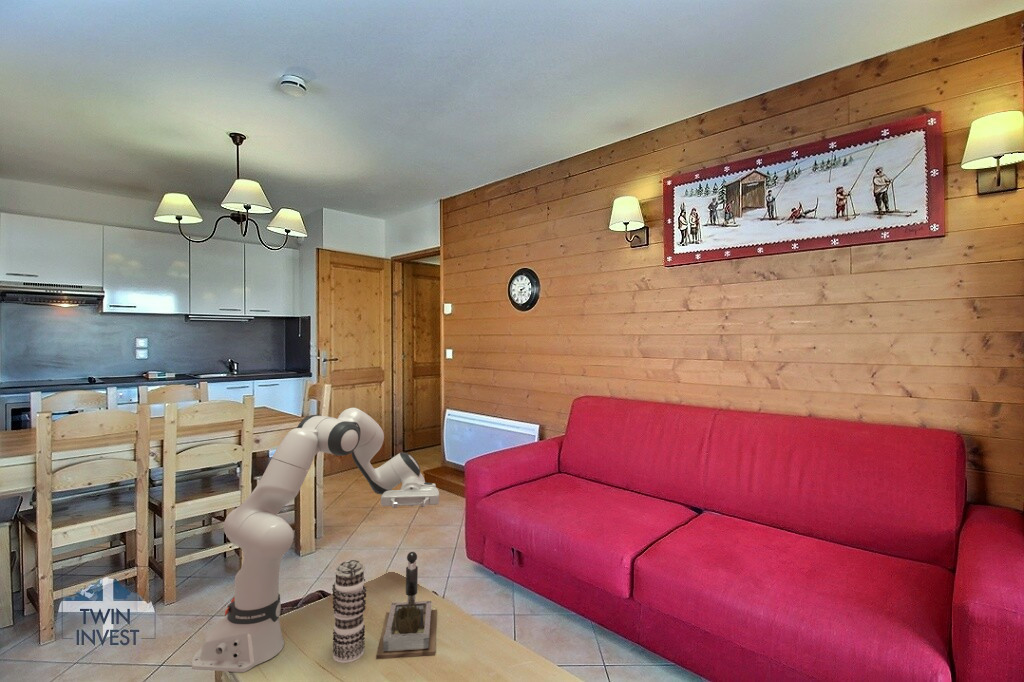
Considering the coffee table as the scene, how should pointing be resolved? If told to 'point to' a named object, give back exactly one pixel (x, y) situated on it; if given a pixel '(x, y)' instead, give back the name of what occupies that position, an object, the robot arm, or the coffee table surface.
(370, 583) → the coffee table surface
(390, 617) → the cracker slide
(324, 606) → the coffee table surface
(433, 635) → the base
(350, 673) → the coffee table surface
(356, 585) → the decorative candle
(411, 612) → the cup
